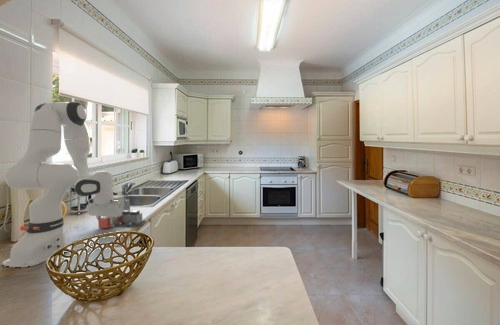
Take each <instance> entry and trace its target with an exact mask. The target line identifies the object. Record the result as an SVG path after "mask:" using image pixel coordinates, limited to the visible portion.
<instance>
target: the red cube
mask: <svg viewBox="0 0 500 325" xmlns="http://www.w3.org/2000/svg"><path fill="white" fill-rule="evenodd" d="M97 221H98V222H97V223H98V229H109V228H111V227H113V226H114V225H113V224H114V223H113V224H111V225H110V224H109V223H108V221H110V217H105V216H101V218H100V219H98V220H97Z"/></svg>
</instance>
